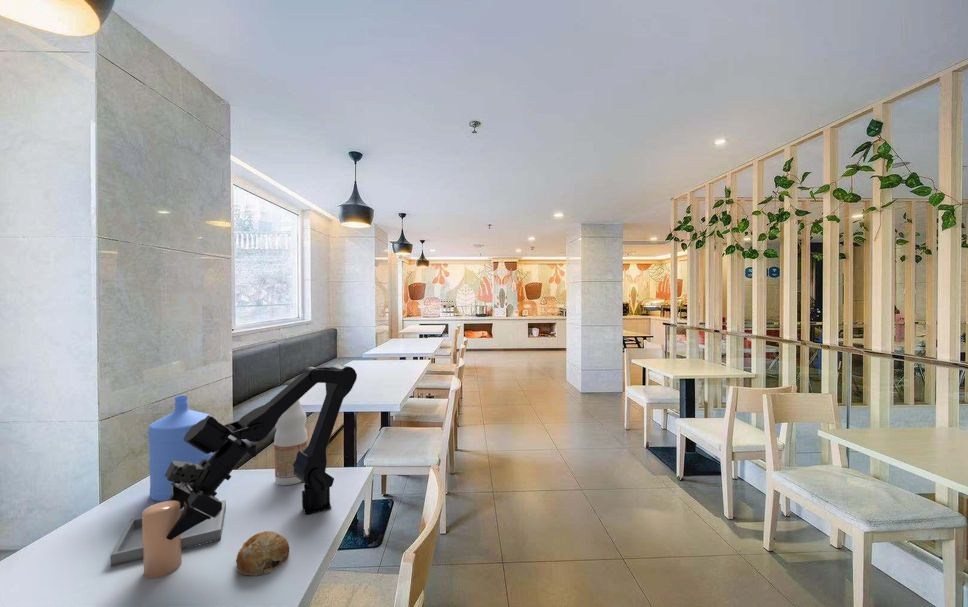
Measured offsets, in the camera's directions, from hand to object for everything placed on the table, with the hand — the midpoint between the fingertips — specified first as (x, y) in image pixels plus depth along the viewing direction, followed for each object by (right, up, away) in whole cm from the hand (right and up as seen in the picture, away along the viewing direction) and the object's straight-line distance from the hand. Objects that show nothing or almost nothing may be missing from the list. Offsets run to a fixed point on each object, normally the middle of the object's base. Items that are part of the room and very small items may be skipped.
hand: (163, 530), depth 88 cm
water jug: (-21, -7, +35) cm, 42 cm away
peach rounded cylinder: (0, -8, 0) cm, 8 cm away
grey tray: (-7, -8, +12) cm, 16 cm away
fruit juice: (+8, -7, +42) cm, 43 cm away
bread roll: (+20, -8, +2) cm, 22 cm away
